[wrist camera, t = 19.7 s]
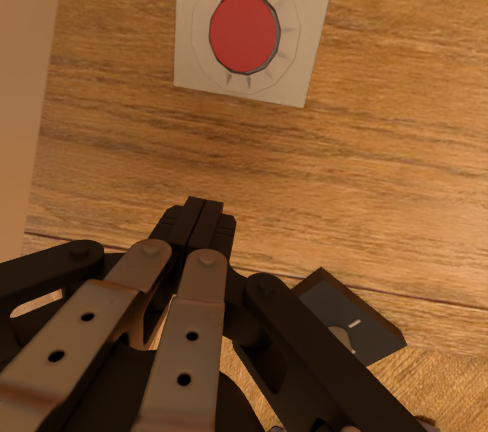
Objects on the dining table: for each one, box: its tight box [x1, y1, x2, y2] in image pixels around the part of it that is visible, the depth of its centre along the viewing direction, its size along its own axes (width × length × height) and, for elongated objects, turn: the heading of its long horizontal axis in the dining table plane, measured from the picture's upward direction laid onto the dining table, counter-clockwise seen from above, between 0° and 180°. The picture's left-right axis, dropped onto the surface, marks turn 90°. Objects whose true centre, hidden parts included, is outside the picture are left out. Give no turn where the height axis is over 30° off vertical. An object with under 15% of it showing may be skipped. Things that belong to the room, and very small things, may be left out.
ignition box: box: [174, 0, 329, 108], centre depth 21 cm, size 10×8×4 cm
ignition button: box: [210, 0, 276, 72], centre depth 19 cm, size 4×4×2 cm
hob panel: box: [291, 267, 407, 367], centre depth 36 cm, size 14×10×2 cm
